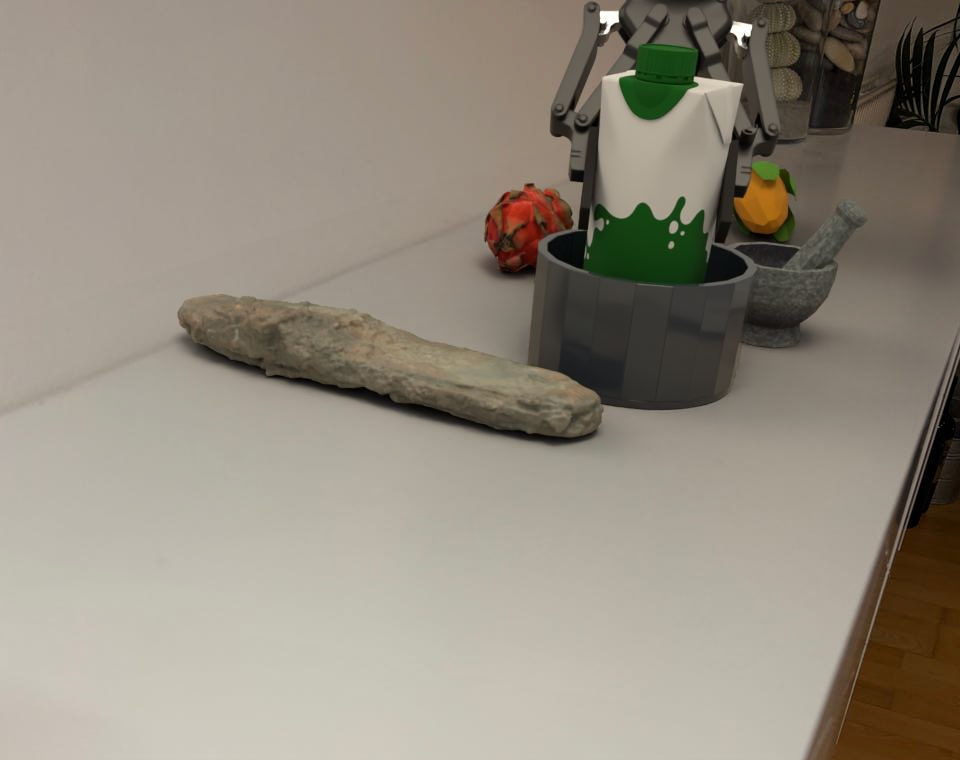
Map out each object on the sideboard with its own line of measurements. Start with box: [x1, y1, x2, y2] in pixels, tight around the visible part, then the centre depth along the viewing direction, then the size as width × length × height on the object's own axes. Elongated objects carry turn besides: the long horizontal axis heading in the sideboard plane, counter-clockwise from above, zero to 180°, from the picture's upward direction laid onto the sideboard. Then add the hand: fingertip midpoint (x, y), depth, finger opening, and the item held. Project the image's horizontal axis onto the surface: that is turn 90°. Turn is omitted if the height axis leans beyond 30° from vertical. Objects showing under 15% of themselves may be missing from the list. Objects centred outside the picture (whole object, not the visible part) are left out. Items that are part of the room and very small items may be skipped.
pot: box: [527, 228, 758, 410], centre depth 84 cm, size 16×16×9 cm
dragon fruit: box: [483, 182, 575, 273], centre depth 107 cm, size 8×8×12 cm
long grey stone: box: [177, 293, 605, 438], centre depth 79 cm, size 35×5×10 cm
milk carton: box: [583, 44, 745, 284], centre depth 79 cm, size 9×9×20 cm
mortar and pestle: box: [726, 198, 868, 349], centre depth 93 cm, size 11×9×12 cm
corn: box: [732, 160, 797, 243], centre depth 126 cm, size 7×8×20 cm
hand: (653, 225), depth 77 cm, fingers closed on milk carton, 9 cm apart
